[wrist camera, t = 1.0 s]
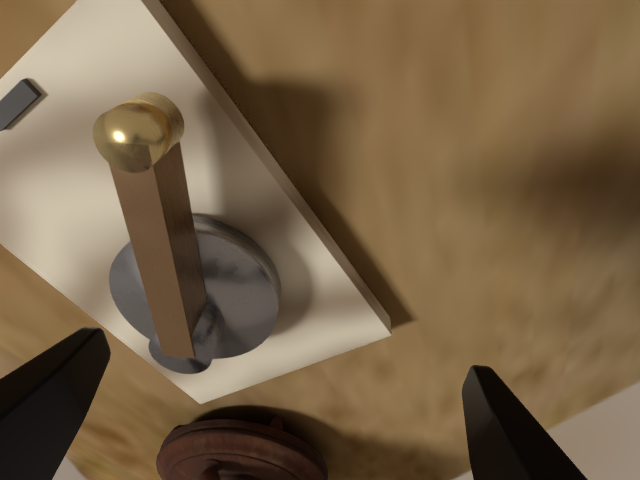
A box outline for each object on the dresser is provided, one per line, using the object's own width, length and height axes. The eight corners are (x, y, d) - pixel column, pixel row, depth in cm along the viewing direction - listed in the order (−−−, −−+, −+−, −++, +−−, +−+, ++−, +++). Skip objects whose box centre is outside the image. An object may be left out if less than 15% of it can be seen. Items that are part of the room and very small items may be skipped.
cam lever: (282, 344, 25) (270, 404, 21) (143, 331, 25) (108, 389, 22) (276, 88, 16) (254, 119, 13) (63, 75, 16) (-16, 102, 13)
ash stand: (390, 317, 25) (392, 338, 24) (206, 386, 31) (198, 407, 29) (132, -36, 16) (108, -37, 14) (-64, 160, 21) (-95, 174, 20)
